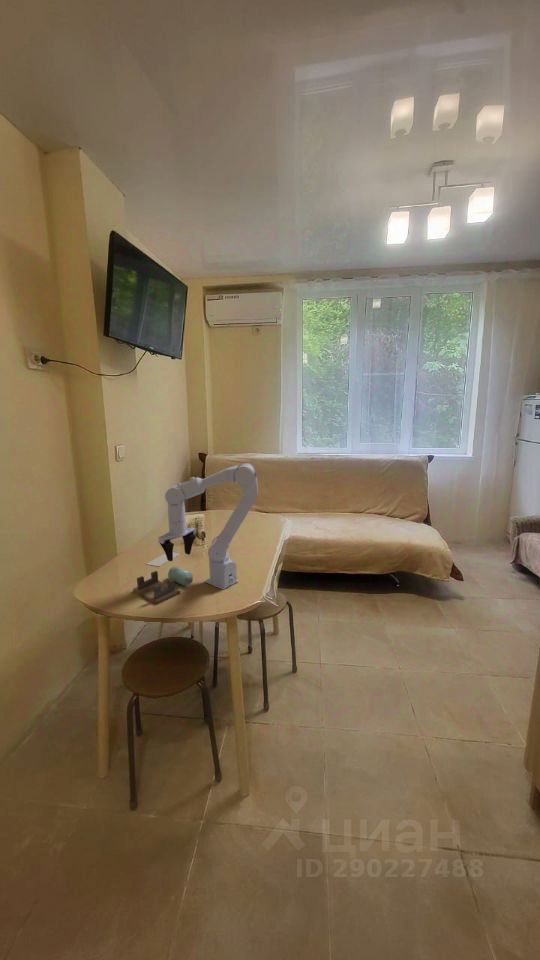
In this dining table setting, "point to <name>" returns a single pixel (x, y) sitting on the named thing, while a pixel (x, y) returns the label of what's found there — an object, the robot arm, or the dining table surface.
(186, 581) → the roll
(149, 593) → the holder
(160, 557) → the smartphone
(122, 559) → the dining table surface
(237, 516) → the robot arm
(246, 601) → the dining table surface
